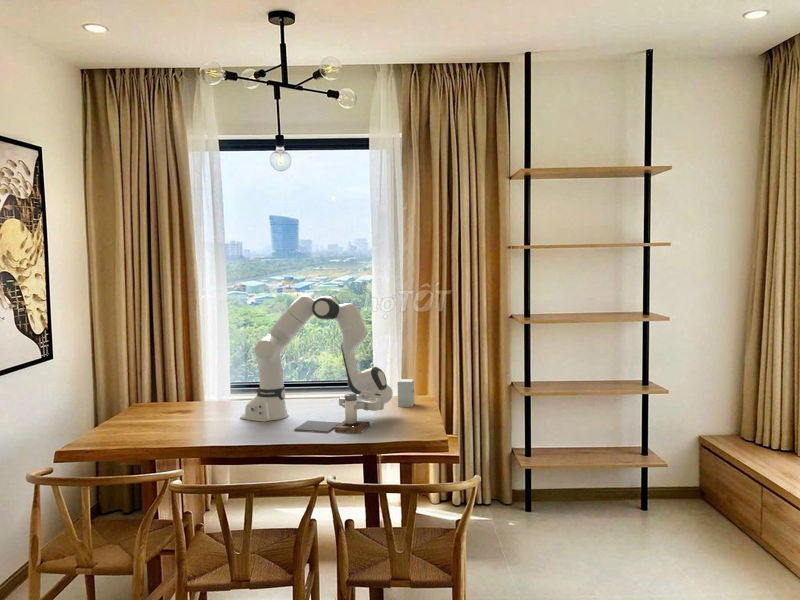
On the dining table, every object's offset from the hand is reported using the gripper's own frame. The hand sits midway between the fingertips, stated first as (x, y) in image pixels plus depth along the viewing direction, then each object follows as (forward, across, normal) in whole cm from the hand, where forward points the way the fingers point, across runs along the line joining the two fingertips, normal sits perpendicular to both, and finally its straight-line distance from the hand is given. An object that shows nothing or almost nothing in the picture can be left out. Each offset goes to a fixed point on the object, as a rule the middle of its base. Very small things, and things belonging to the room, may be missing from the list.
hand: (349, 406), depth 274 cm
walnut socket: (-1, 0, +10) cm, 10 cm away
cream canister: (-1, 0, +7) cm, 7 cm away
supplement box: (-48, -1, +10) cm, 49 cm away
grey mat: (+4, -15, +10) cm, 18 cm away
